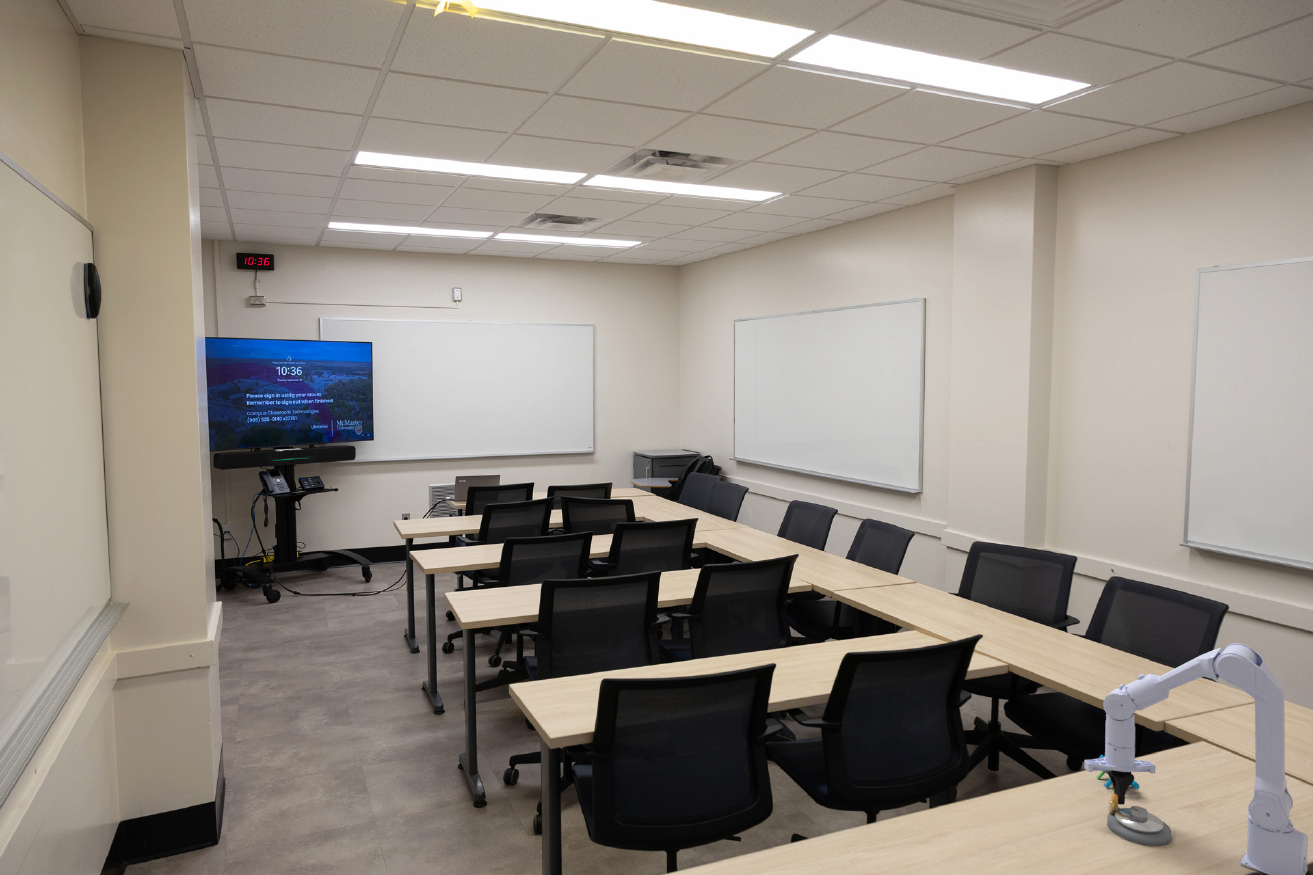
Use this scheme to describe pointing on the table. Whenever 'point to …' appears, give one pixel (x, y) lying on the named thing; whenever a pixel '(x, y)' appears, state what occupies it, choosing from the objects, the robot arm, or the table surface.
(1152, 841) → the post base
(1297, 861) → the robot arm
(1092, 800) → the table surface
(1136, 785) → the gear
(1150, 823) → the flange
